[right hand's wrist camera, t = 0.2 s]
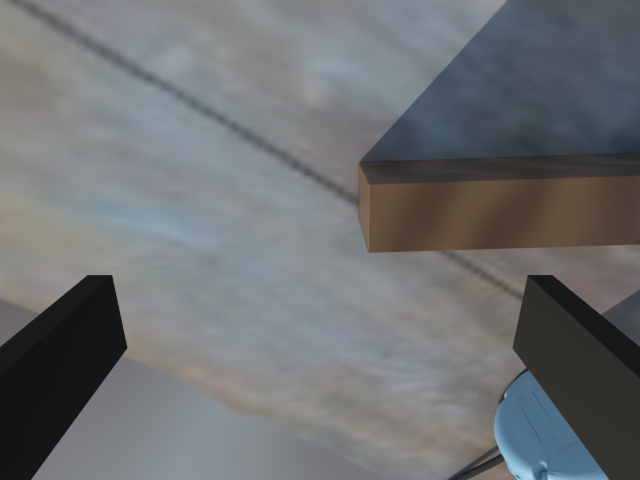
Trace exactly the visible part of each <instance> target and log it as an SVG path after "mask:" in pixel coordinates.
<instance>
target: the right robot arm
mask: <svg viewBox="0 0 640 480" xmlns="http://www.w3.org/2000/svg"><path fill="white" fill-rule="evenodd" d="M126 349H127V344H126V339H125V334H124V330H123V325H122V320H121V315H120V311H119V306H118V301H117V296H116V292H115V287H114V282H113V277H112V275H87V276H86V277H85V278H84V279H83V280H81V281H80V282H79V283H78V284H76V285H75V286H74V287H73V288H72V289H70V290H69V291H68V292H67V293H65V294H64V295H63V296H62V297H61V298H59V299H58V300H57V301H56V302H54V303H53V304H52V305H51V306H50V307H48V308H47V309H46V310H45V311H43V312H42V313H41V314H40V315H39V316H37V317H36V318H35V319H34V320H33V321H31V322H30V323H29V324H28V325H26V326H25V327H24V328H23V329H22V330H20V331H19V332H18V333H17V334H15V335H14V336H13V337H12V338H11V339H9V340H8V341H7V342H6V343H4V344H3V345H2V346H1V347H0V480H31V479H32V477H33V476H34V475H35V473H36V472H37V471H38V469H39V468H40V467H41V465H42V464H43V463H44V461H45V460H46V458H47V457H48V456H49V454H50V453H51V452H52V450H53V449H54V448H55V446H56V445H57V443H58V442H59V441H60V439H61V438H62V437H63V435H64V434H65V432H66V431H67V430H68V428H69V427H70V426H71V424H72V423H73V421H74V420H75V419H76V417H77V416H78V415H79V413H80V412H81V411H82V409H83V408H84V407H85V405H86V404H87V402H88V401H89V400H90V398H91V397H92V396H93V394H94V393H95V392H96V390H97V389H98V387H99V386H100V385H101V383H102V382H103V381H104V379H105V378H106V377H107V375H108V374H109V372H110V371H111V370H112V368H113V367H114V366H115V364H116V363H117V361H118V360H119V359H120V357H121V356H122V355H123V353H124V352H125V351H126ZM513 349H514V351H515V352H516V353H517V355H518V356H519V357H520V359H521V360H522V361H523V363H524V364H525V366H526V367H527V368H528V370H529V371H530V372H531V374H532V375H533V377H534V378H535V379H536V381H537V382H538V383H539V385H540V386H541V387H542V389H543V390H544V392H545V393H546V394H547V396H548V397H549V398H550V400H551V401H552V402H553V404H554V405H555V407H556V408H557V409H558V411H559V412H560V413H561V415H562V416H563V417H564V419H565V420H566V422H567V423H568V424H569V426H570V427H571V428H572V430H573V431H574V433H575V434H576V435H577V437H578V438H579V439H580V441H581V442H582V443H583V445H584V446H585V448H586V449H587V450H588V452H589V453H590V454H591V456H592V457H593V458H594V460H595V461H596V463H597V464H598V465H599V467H600V468H601V469H602V471H603V472H604V473H605V475H606V476H607V478H608V479H609V480H640V347H639V346H638V345H637V344H636V343H634V342H633V341H632V340H631V339H629V338H628V337H627V336H626V335H625V334H623V333H622V332H621V331H620V330H618V329H617V328H616V327H615V326H614V325H612V324H611V323H610V322H609V321H608V320H606V319H605V318H604V317H603V316H601V315H600V314H599V313H598V312H597V311H595V310H594V309H593V308H592V307H590V306H589V305H588V304H587V303H586V302H584V301H583V300H582V299H581V298H579V297H578V296H577V295H576V294H575V293H573V292H572V291H571V290H570V289H568V288H567V287H566V286H565V285H564V284H562V283H561V282H560V281H559V280H557V279H556V278H555V277H554V276H553V275H528V277H527V282H526V287H525V292H524V296H523V301H522V306H521V311H520V315H519V320H518V325H517V330H516V334H515V339H514V344H513Z"/></svg>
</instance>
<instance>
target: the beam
mask: <svg viewBox="0 0 640 480" xmlns="http://www.w3.org/2000/svg"><path fill="white" fill-rule="evenodd" d="M358 218H359V222H360V225H361V229H362V232H363V236H364V239H365V243H366V247H367V250H368V253H373V252H406V251H439V250H472V249H505V248H537V247H570V246H603V245H636V244H640V153H622V154H592V155H563V156H533V157H503V158H473V159H443V160H413V161H383V162H359V209H358Z"/></svg>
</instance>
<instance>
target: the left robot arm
mask: <svg viewBox="0 0 640 480" xmlns="http://www.w3.org/2000/svg"><path fill="white" fill-rule="evenodd" d="M494 428H495V437H496V441H497V444H498V447H499V449H500V452H501V454H500V455H498V456H496V457H494V458H492V459H491V460H489V461H487V462H485V463H483V464H481V465H479V466H477V467H475V468H473V469H470V470H468V471H467V472H465V473H463V474H461V475H459V476H458V477H456V478H455V479H453V480H467V479H469V478H471V477H473V476H475V475H477V474H480V473H482V472H484V471H486V470H488V469H490V468H492V467H494V466H496V465H498V464H500V463H501V462H503V461H505V462H506V465H507V467H508V468H509V470H510V472H511V473H512V474H513V475H514V476H515V477H516V479H517V480H609V479H608V478H607V476H606V475H605V473H604V472H603V471H602V469H601V468H600V467H599V465H598V464H597V463H596V461H595V460H594V458H593V457H592V456H591V454H590V453H589V452H588V450H587V449H586V448H585V446H584V445H583V443H582V442H581V441H580V439H579V438H578V437H577V435H576V434H575V433H574V431H573V430H572V428H571V427H570V426H569V424H568V423H567V422H566V420H565V419H564V417H563V416H562V415H561V413H560V412H559V411H558V409H557V408H556V407H555V405H554V404H553V402H552V401H551V400H550V398H549V397H548V396H547V394H546V393H545V392H544V390H543V389H542V387H541V386H540V385H539V383H538V382H537V381H536V379H535V378H534V377H533V375H532V374H531V372H530V371H529V370H527V371H525V372H524V373H522V374H521V375H520V376H518V377H517V378H516V379H515V380H514V381H513V382H512V383H511V384H510V385H509V386H508V388H507V389H506V390H505V392H504V394H503V395H502V397H501V400H500V402H499V405H498V408H497V411H496V415H495V424H494Z"/></svg>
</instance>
